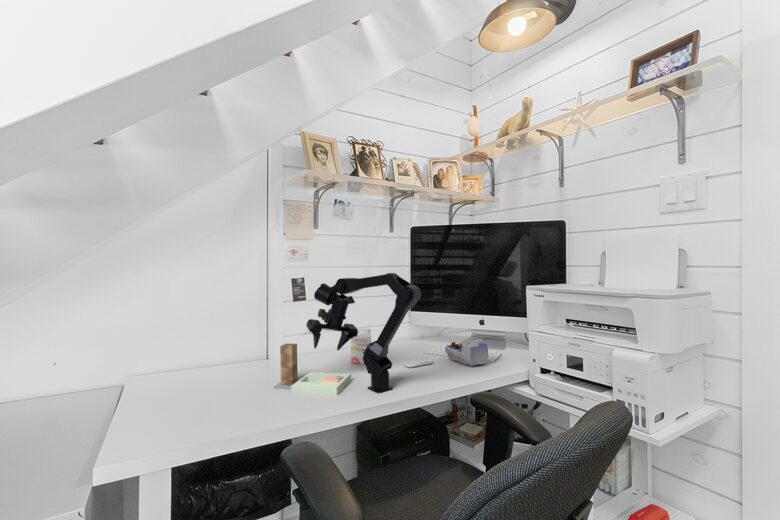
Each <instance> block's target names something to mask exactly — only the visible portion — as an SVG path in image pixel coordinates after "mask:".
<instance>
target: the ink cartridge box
mask: <svg viewBox="0 0 780 520" xmlns="http://www.w3.org/2000/svg"><path fill="white" fill-rule="evenodd" d="M357 330H358V334H357V337H353V339H352V338H351V339H350V364H351V365H365V364H364V361H363V355H364V354H363V352H365V350H366V348H367V345H368V344H369V343H372V334H371V332H372V331H371V330H372V329H371V328H357ZM361 331H362V332H361Z"/></svg>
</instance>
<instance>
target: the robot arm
mask: <svg viewBox="0 0 780 520" xmlns="http://www.w3.org/2000/svg"><path fill="white" fill-rule="evenodd" d="M382 286H387V287H388V288H390V290H391V291H392V293H393V294H395V295H396V298H395V305H394V308H393V310H392V312H391V314H390V316H389V317H388V320H387V321H386V323H385V325H384V327H383V328H382V330H381V333H380V334H379V335H378V338H377V340H375V341H371V343H369V344H368V345H367V348H366V350H365V352H363V354H364V355H363V361H364V364H363V365H365V369H366V371H367V374H370V385H369V386H367V389H368V390H370V391H372V392H375V393H377V394H379V393H384V392H386V391H387V392H388V391H391V390H393V389H394V388H393V387H392V386H390V372H389V370H391V369H392V366H393V362H392V361H391V360H390V359H389V358H388V353H389V346H390V344H391V343H392V340H393V339H394V337H395V335H396V333H397V331H398V330H399V327H400V326H401V324H402V322H403V320H404V319H405V317H406V315H407V313H408V312H409V311H411V310H412V308H413V307H415V306H416V304H417V303H418V301H420V299H422V298H421V297H422V292H421V289H420V288H419V287H418V286H417V285H414V284H411V282H409V281H407V280H405V279H404V278H402V277H401V276H399V275H398V274H397V273H396V272H388V273H385V274H379V275H375V276H369V277H368V276H367V277H362V278H359V277H343V278H341V277H340V278H339V279H337V280H336V282H335V284H334V285H332V286H329V285H328V284H326V283H321V284H320V286H319V287H318V288H317V289H316V290H315V291H314V294H313V298H314V299H315V300H316V301H318V302H320V303H322V304H324V305H326V306H330V305H331V306H330V308H329V309H328V311H326V309H324V308H319V310H318V313H317V317H318V318H321V320H322V321H323V322H324V323H321V322H320V320H319V319H314V318H313V319H311V318H310V319H309V320H307V322H306V325H305V326H306V327H307V329H308V332H310V333H311V334H312V336H313V348H314V349H315V350H316V348H317V347H318V345H319V341H320V338H321V335H322V334H321V332H322V330H326V331H333V332H334V331H336V332H341V334H340V336H339V337H340V338H339V341H338V343H337V348H336V351H340V349H342V348H343V346H345V345H346V343H348V342H349V341H351V338H352V339H353V337H357V334H358V330H357V329H358V328H357V327H356V326H355V325H354V323H353V324H352V323H344V320H346V318H347V316H346V314H347V310H348V307H349V305H352V304H355V303H356V300H355V299H354V297H353V296H352V295H349V296H348V294H353V293H355V292H358V291H361V290H363V289H368V288H374V287H382ZM346 294H347V295H346ZM343 323H344V324H343Z"/></svg>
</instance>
